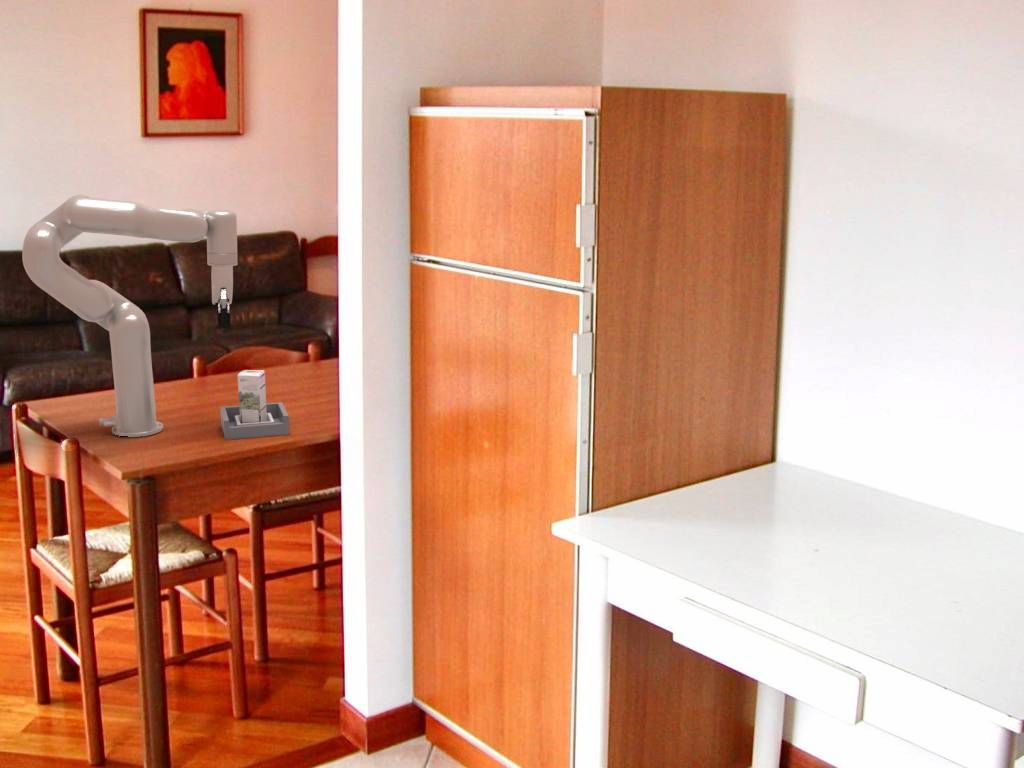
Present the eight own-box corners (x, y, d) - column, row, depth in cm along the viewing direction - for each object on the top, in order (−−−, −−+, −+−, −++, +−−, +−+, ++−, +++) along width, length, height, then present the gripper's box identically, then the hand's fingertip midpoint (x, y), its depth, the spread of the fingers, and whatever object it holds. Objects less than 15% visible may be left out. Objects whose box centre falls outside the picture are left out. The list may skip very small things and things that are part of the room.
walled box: (225, 439, 296) (224, 420, 295) (221, 425, 309) (220, 407, 308) (289, 434, 301) (288, 415, 300) (282, 420, 314) (282, 402, 313)
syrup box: (268, 423, 308) (265, 369, 304) (261, 429, 302) (258, 374, 298) (246, 423, 308) (243, 368, 304) (239, 429, 302) (236, 374, 299)
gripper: (207, 254, 309) (208, 319, 313) (207, 263, 293) (209, 331, 296) (236, 254, 311) (237, 318, 315) (238, 263, 294) (239, 330, 298)
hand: (223, 324), depth 306 cm, fingers open, 9 cm apart
